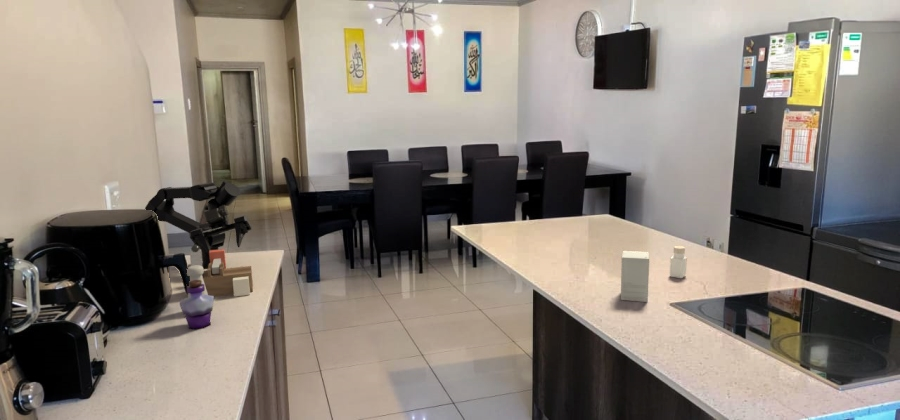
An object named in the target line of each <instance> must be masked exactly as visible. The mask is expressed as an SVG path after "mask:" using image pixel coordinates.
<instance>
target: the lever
mask: <svg viewBox="0 0 900 420" xmlns="http://www.w3.org/2000/svg"><path fill="white" fill-rule="evenodd" d="M189 256H190V257H189V259H190V260H189V261H190V266H193V265H201V266H202V253H201V249H200V247H199V246H198V245H194V244H193V245H192V246H191V248H190V250H189ZM202 277H203V274H202Z"/></svg>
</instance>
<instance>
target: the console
mask: <svg viewBox="0 0 900 420" xmlns="http://www.w3.org/2000/svg"><path fill="white" fill-rule="evenodd" d="M206 269H207V270H204V273H203V280H204V283H205V287H206V290H207V293H208V295H210V296H214V297H219V296H229V295H234V289H233V278H238V277H247V276H249V287H250V293H253V292H254V291H253V290H254V283H253V282H254V281H253V272H252V265H246V266H238V267H237V266H236V267H226V269H224V262H221V264H220V273H219V274H212V263H209V266H208V268H206Z"/></svg>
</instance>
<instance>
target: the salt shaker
mask: <svg viewBox="0 0 900 420" xmlns="http://www.w3.org/2000/svg"><path fill="white" fill-rule="evenodd" d="M187 268H188V269H187ZM187 268H186V270H187V273H186V275H187V276H190V281H193V280H201V281H202V282H201V284H204V287H205V283H204V280H203V277H202V274H203V273H204V271H205V270H204V269H205V268H203V267H202V266H201V265H193V266H191V265H190V266H188V267H187ZM202 295H208V293H207V290H206V287H205V291H203V292H202ZM190 296H191V295H190V293H187V298H188V297H190Z"/></svg>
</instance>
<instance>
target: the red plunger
mask: <svg viewBox="0 0 900 420" xmlns="http://www.w3.org/2000/svg"><path fill="white" fill-rule="evenodd" d="M209 256H210V263H212V274H219V273H220V264H221V262H224V269H226V268H227V263H226V262H227V260H226V251H225V248H223V249H219V250H210V251H209Z"/></svg>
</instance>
